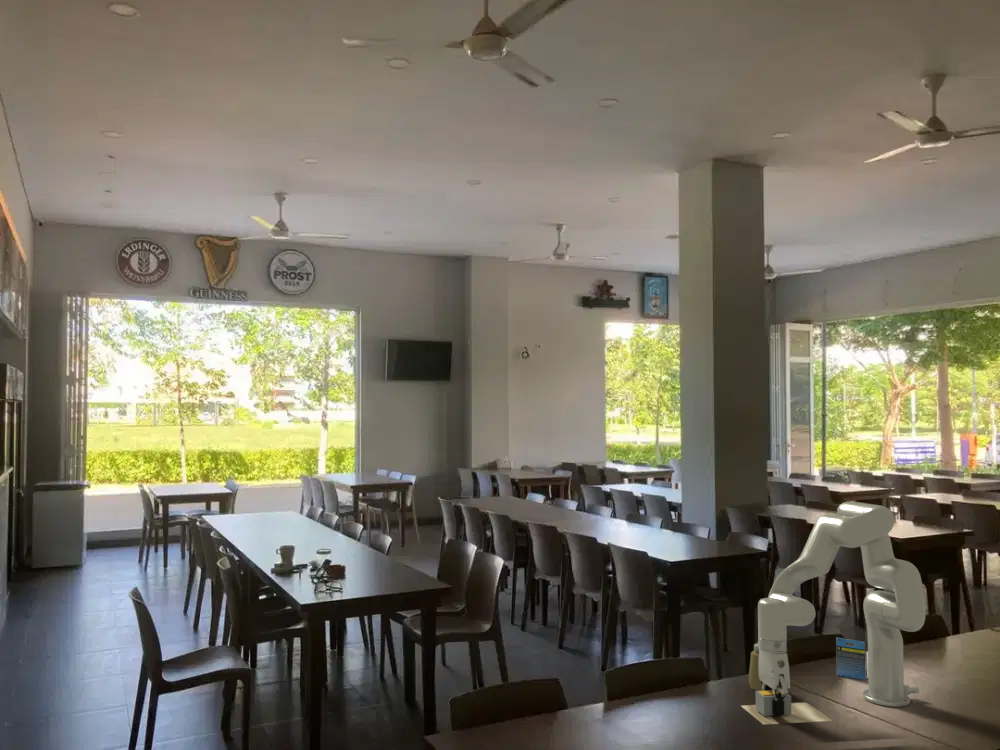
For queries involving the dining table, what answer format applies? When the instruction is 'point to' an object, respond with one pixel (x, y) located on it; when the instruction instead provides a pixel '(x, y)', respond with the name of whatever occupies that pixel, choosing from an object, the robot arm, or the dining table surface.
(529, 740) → the dining table surface
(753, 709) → the board
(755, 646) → the squeeze bottle
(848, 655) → the label tape box
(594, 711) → the dining table surface
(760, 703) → the grey block
